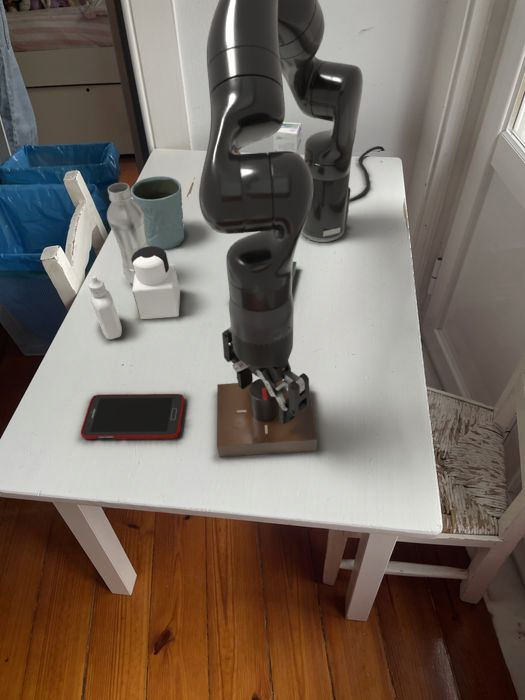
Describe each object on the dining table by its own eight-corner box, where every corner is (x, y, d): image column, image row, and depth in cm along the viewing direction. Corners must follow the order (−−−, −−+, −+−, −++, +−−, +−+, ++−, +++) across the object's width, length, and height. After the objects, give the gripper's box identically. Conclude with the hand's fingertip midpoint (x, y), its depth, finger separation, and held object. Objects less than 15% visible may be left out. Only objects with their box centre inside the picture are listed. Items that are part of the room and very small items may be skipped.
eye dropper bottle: (128, 319, 89) (112, 267, 81) (119, 341, 86) (100, 288, 77) (105, 318, 90) (87, 266, 81) (95, 339, 86) (74, 287, 77)
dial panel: (307, 390, 77) (308, 377, 75) (316, 450, 69) (317, 438, 67) (219, 396, 77) (217, 383, 74) (218, 457, 69) (216, 445, 67)
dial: (249, 400, 72) (248, 378, 68) (276, 397, 72) (276, 375, 68) (252, 423, 69) (250, 400, 65) (280, 419, 70) (280, 397, 66)
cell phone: (179, 439, 71) (178, 435, 70) (80, 439, 72) (78, 436, 71) (185, 397, 76) (184, 393, 76) (93, 398, 77) (91, 394, 76)
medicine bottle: (143, 295, 94) (129, 243, 85) (180, 292, 94) (169, 240, 85) (140, 320, 89) (124, 267, 80) (179, 317, 89) (167, 264, 81)
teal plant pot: (134, 245, 105) (120, 195, 97) (157, 221, 112) (147, 172, 103) (174, 254, 103) (165, 204, 94) (196, 229, 109) (189, 179, 100)
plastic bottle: (153, 292, 94) (129, 199, 80) (121, 288, 96) (92, 195, 81) (164, 271, 99) (144, 180, 84) (133, 268, 100) (107, 177, 85)
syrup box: (300, 180, 123) (302, 121, 112) (296, 191, 119) (297, 132, 108) (278, 178, 124) (278, 120, 113) (273, 189, 120) (272, 130, 109)
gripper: (328, 334, 55) (320, 415, 67) (245, 278, 63) (251, 361, 75) (281, 369, 52) (282, 448, 64) (199, 306, 59) (213, 388, 71)
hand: (265, 401), depth 69 cm, fingers open, 8 cm apart
